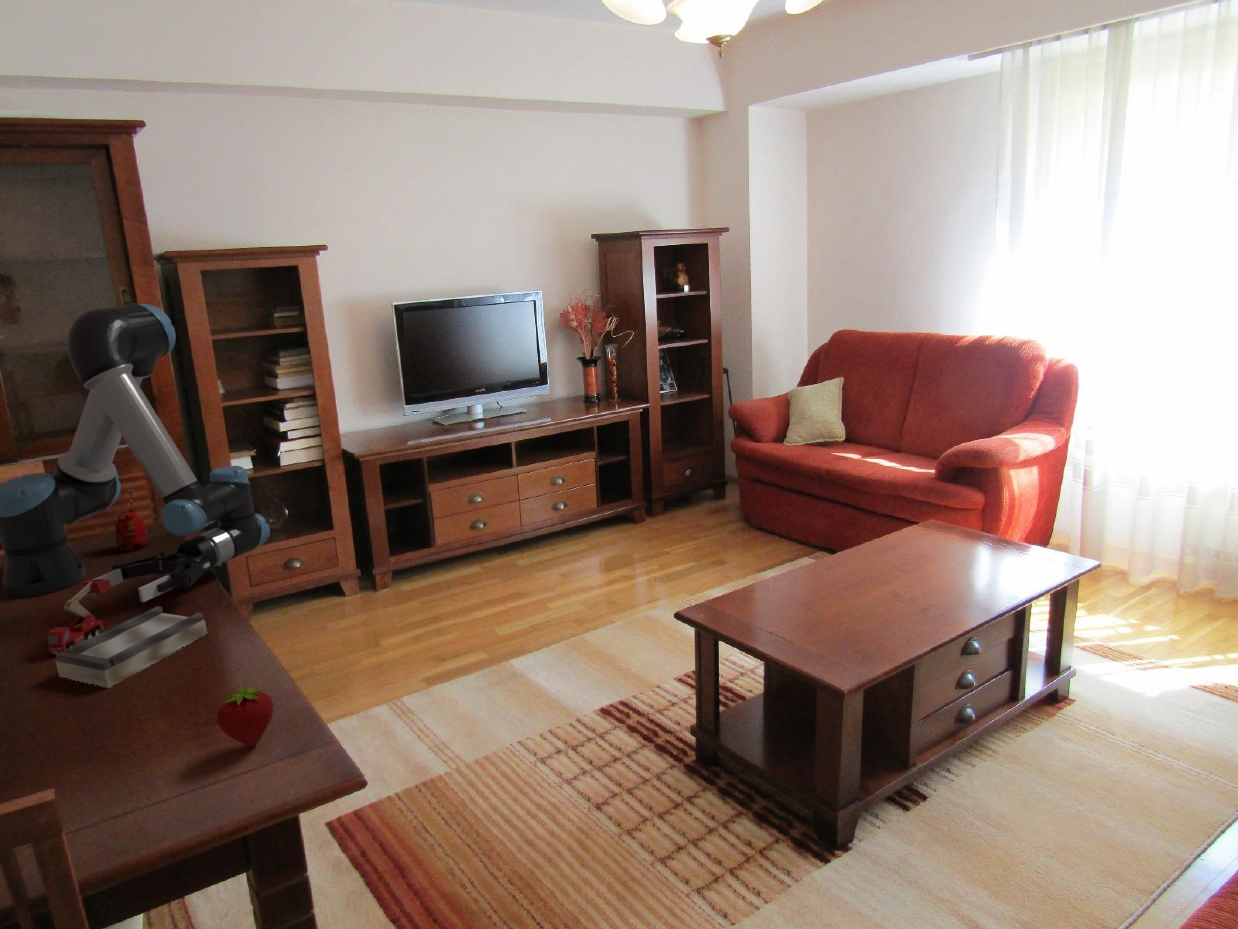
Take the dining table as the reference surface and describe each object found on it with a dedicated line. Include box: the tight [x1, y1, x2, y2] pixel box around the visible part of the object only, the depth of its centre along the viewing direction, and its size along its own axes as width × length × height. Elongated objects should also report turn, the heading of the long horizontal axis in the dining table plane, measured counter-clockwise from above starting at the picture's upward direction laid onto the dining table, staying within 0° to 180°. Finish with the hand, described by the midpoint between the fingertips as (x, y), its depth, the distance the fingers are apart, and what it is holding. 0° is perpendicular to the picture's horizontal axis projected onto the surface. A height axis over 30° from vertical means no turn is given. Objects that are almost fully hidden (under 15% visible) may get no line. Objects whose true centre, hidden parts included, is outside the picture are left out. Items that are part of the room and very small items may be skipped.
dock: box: [55, 605, 208, 689], centre depth 153 cm, size 20×12×4 cm, turn 157°
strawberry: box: [216, 679, 275, 748], centre depth 122 cm, size 6×8×10 cm
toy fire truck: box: [46, 578, 113, 655], centre depth 160 cm, size 3×14×10 cm, turn 168°
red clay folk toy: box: [114, 484, 150, 552], centre depth 209 cm, size 8×7×15 cm
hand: (115, 591), depth 166 cm, fingers open, 13 cm apart
